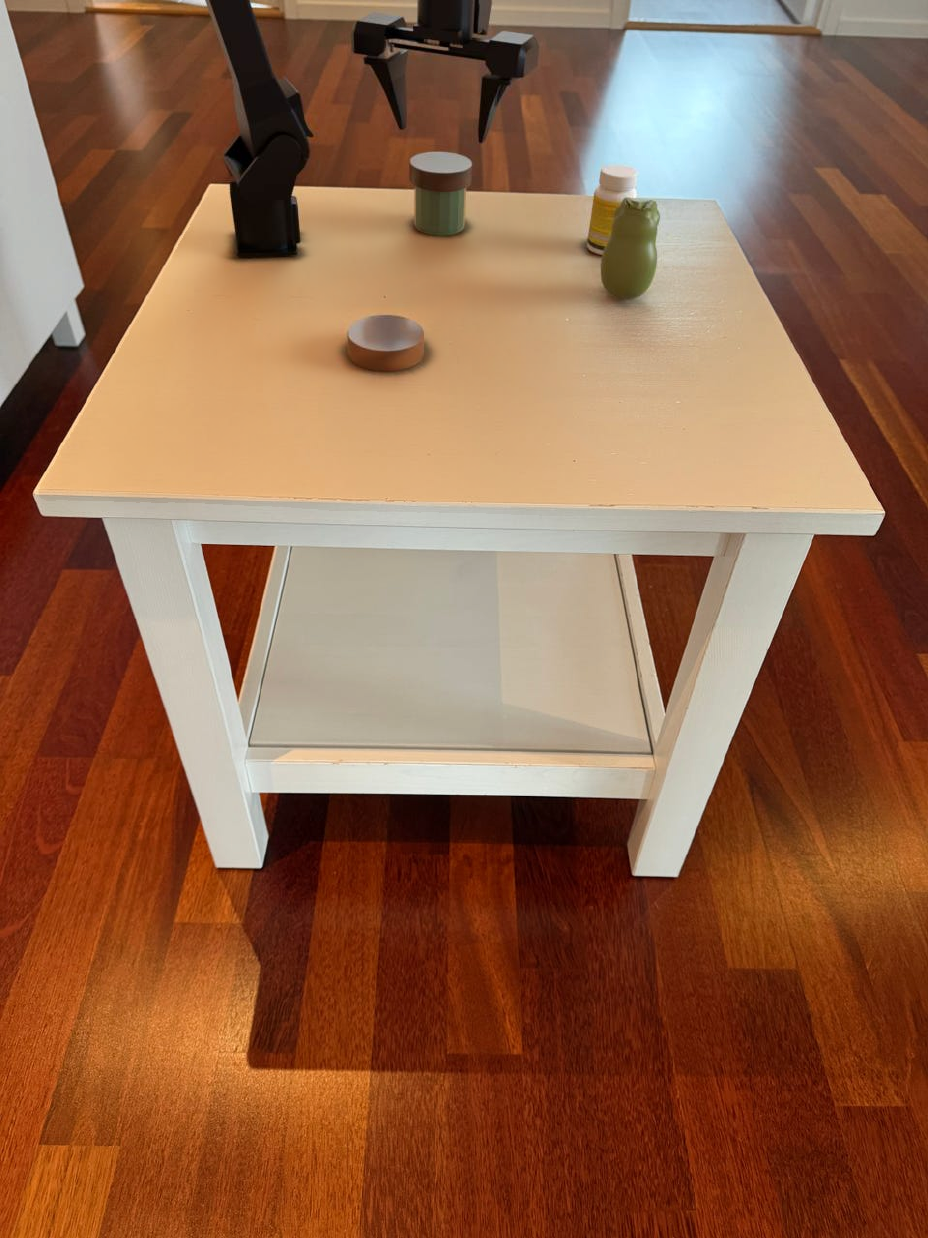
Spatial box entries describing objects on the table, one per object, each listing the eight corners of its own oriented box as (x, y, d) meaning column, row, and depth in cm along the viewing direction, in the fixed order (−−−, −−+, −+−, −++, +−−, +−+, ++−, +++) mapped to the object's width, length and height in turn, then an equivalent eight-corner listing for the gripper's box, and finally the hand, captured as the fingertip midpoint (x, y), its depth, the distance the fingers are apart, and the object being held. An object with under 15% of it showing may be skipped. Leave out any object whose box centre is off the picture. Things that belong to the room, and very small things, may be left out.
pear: (593, 303, 94) (608, 203, 87) (599, 282, 98) (613, 184, 91) (648, 311, 93) (667, 210, 86) (651, 289, 97) (670, 190, 90)
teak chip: (352, 373, 82) (351, 353, 81) (344, 336, 87) (343, 316, 86) (429, 369, 83) (429, 348, 82) (417, 332, 88) (417, 312, 87)
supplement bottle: (620, 260, 102) (633, 181, 96) (580, 251, 103) (591, 172, 97) (633, 245, 105) (646, 167, 99) (594, 236, 106) (605, 159, 101)
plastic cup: (418, 236, 104) (419, 190, 101) (411, 216, 108) (411, 172, 105) (468, 234, 105) (470, 189, 102) (459, 215, 109) (460, 170, 106)
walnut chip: (414, 192, 100) (414, 173, 99) (405, 170, 105) (405, 151, 104) (476, 191, 102) (477, 172, 100) (465, 168, 106) (465, 150, 105)
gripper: (561, -40, 93) (544, 128, 104) (390, -61, 97) (391, 103, 107) (530, -22, 85) (515, 157, 96) (346, -46, 89) (351, 129, 100)
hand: (441, 135), depth 100 cm, fingers open, 9 cm apart
